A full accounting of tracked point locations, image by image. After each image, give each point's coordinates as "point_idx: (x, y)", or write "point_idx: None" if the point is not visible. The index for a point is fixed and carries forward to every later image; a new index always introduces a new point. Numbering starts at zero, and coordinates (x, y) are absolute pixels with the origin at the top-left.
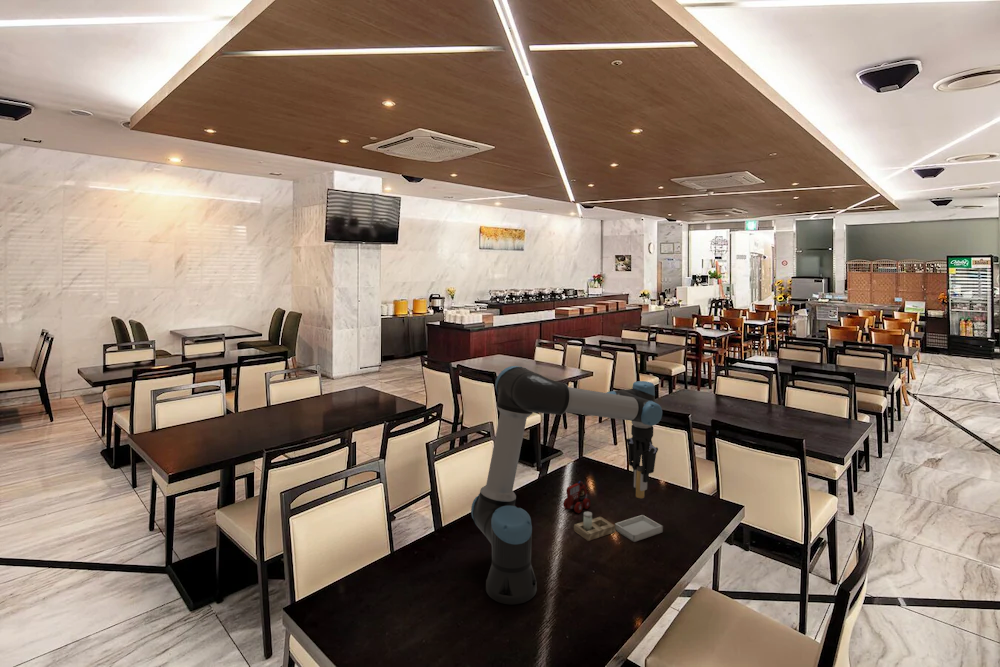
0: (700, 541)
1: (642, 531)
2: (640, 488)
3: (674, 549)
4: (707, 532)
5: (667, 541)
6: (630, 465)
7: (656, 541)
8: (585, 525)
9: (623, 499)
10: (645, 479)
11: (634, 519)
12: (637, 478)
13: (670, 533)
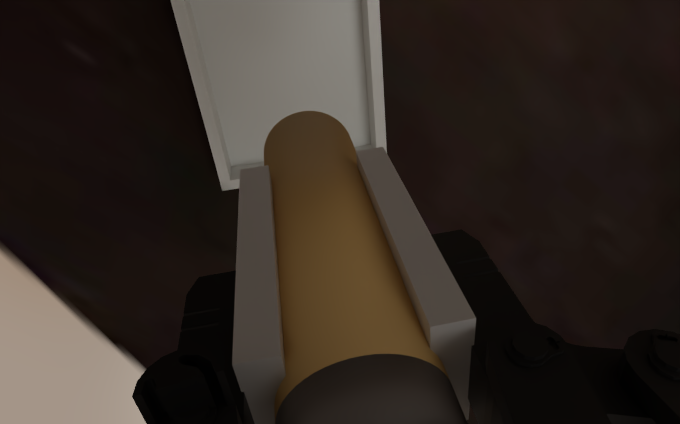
0: (86, 282)
1: (252, 59)
2: (262, 180)
3: (18, 117)
4: (162, 346)
5: (119, 136)
6: (635, 343)
7: (133, 75)
8: None
9: (606, 190)
10: (186, 317)
11: (371, 87)
12: (338, 239)
13: (200, 201)
